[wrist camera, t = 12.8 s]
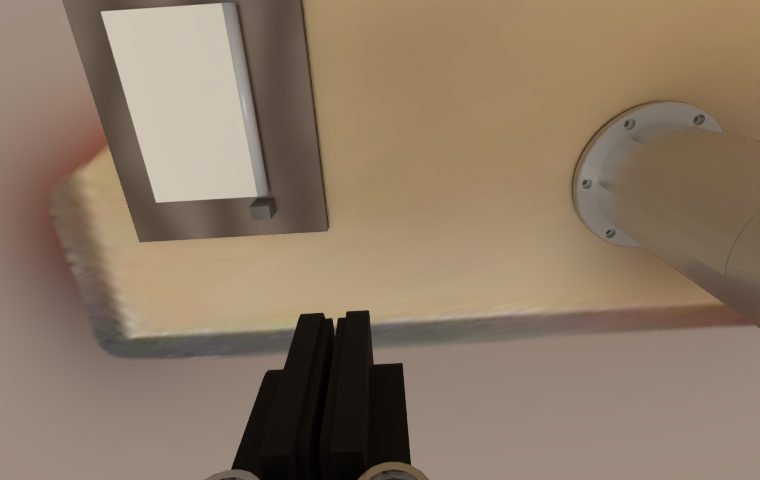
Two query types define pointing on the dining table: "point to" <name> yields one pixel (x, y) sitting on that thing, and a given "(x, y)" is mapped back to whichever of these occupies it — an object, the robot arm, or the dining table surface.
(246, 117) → the tile
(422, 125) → the dining table surface
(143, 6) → the board
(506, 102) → the dining table surface
